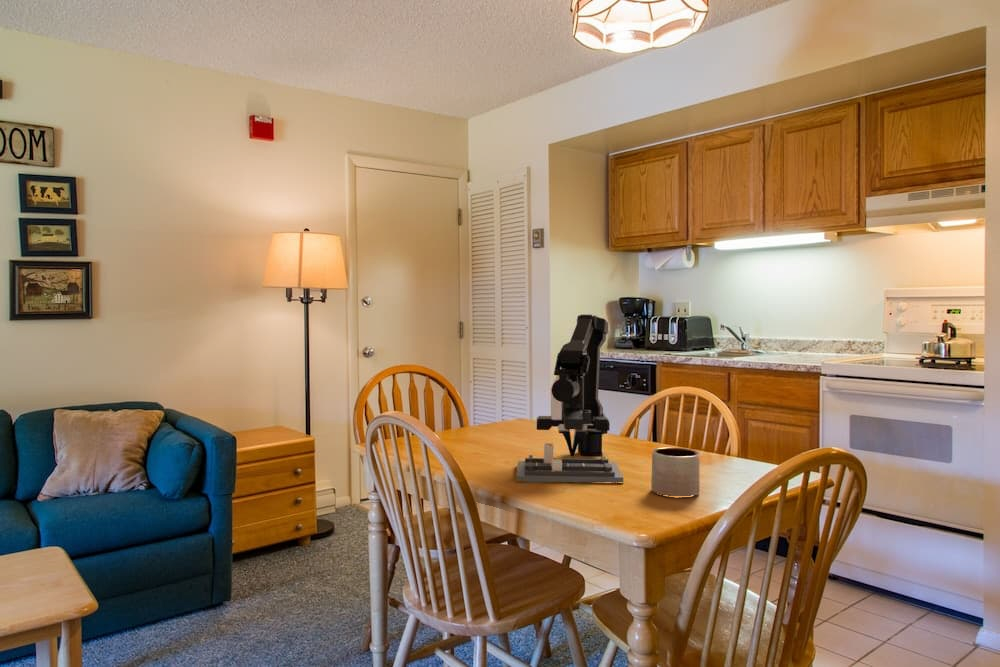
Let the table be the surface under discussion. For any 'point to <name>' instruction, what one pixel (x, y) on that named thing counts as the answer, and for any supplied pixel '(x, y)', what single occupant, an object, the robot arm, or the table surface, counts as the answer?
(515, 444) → the table surface
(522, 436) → the table surface
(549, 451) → the fader
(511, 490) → the table surface
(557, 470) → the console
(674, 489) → the planter
